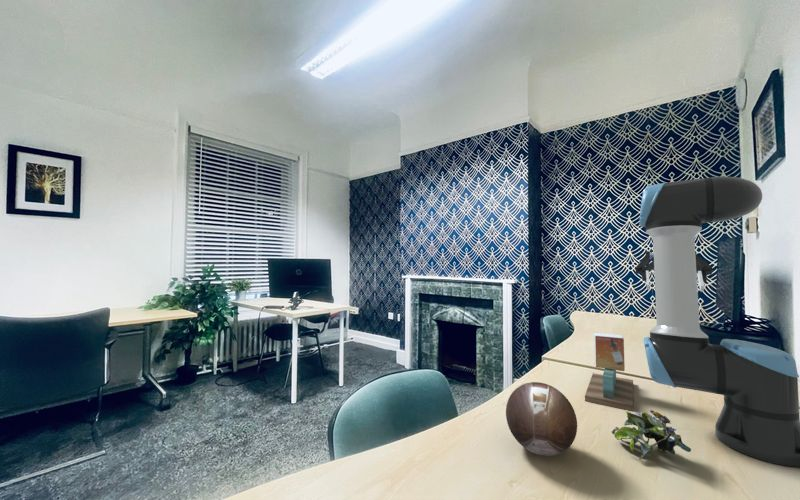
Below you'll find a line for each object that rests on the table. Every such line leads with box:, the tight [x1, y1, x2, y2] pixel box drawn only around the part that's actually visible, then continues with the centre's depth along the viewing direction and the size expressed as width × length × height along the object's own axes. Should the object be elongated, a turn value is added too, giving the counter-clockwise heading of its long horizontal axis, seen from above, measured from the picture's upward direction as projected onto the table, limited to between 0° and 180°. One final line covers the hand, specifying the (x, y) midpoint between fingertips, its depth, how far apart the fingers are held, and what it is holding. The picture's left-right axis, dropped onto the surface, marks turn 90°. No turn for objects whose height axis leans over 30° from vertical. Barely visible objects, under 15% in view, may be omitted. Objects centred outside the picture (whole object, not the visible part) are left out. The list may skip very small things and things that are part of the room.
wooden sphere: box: [505, 381, 578, 457], centre depth 74 cm, size 15×15×15 cm
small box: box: [593, 332, 626, 372], centre depth 106 cm, size 8×6×10 cm
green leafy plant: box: [611, 409, 692, 459], centre depth 72 cm, size 11×11×12 cm
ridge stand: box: [584, 368, 634, 412], centre depth 106 cm, size 24×12×8 cm, turn 144°
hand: (674, 288), depth 106 cm, fingers open, 13 cm apart
